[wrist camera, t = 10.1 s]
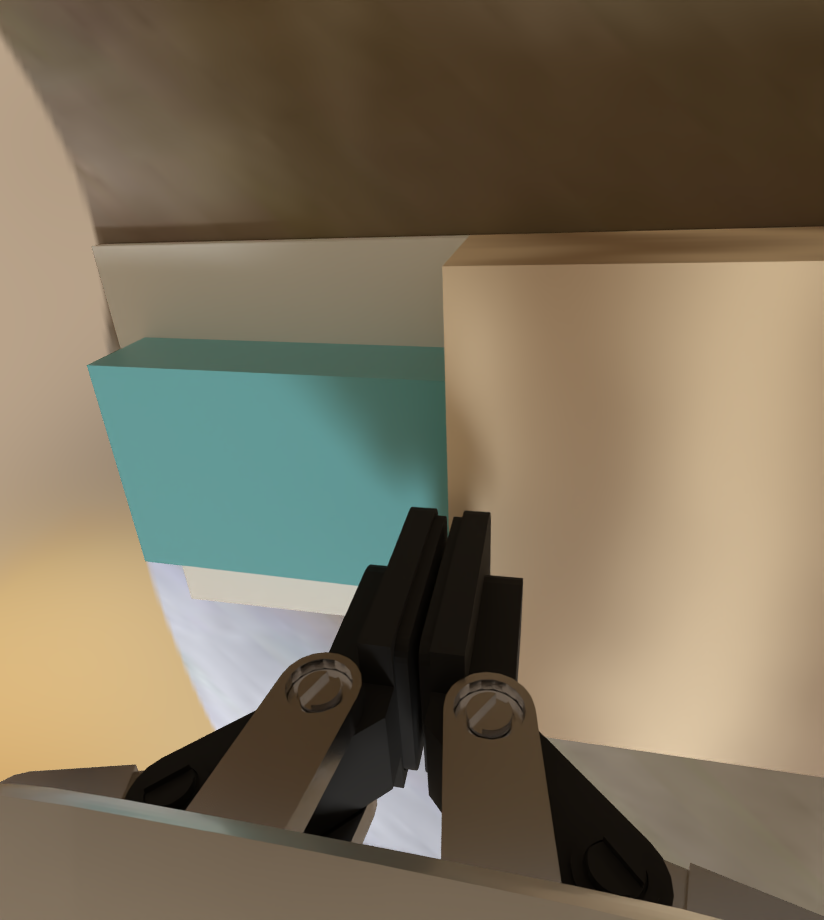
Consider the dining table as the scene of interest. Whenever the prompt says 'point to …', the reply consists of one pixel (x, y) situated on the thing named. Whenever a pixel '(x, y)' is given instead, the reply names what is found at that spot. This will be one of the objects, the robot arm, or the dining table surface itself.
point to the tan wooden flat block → (651, 479)
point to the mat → (278, 328)
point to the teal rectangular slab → (275, 450)
